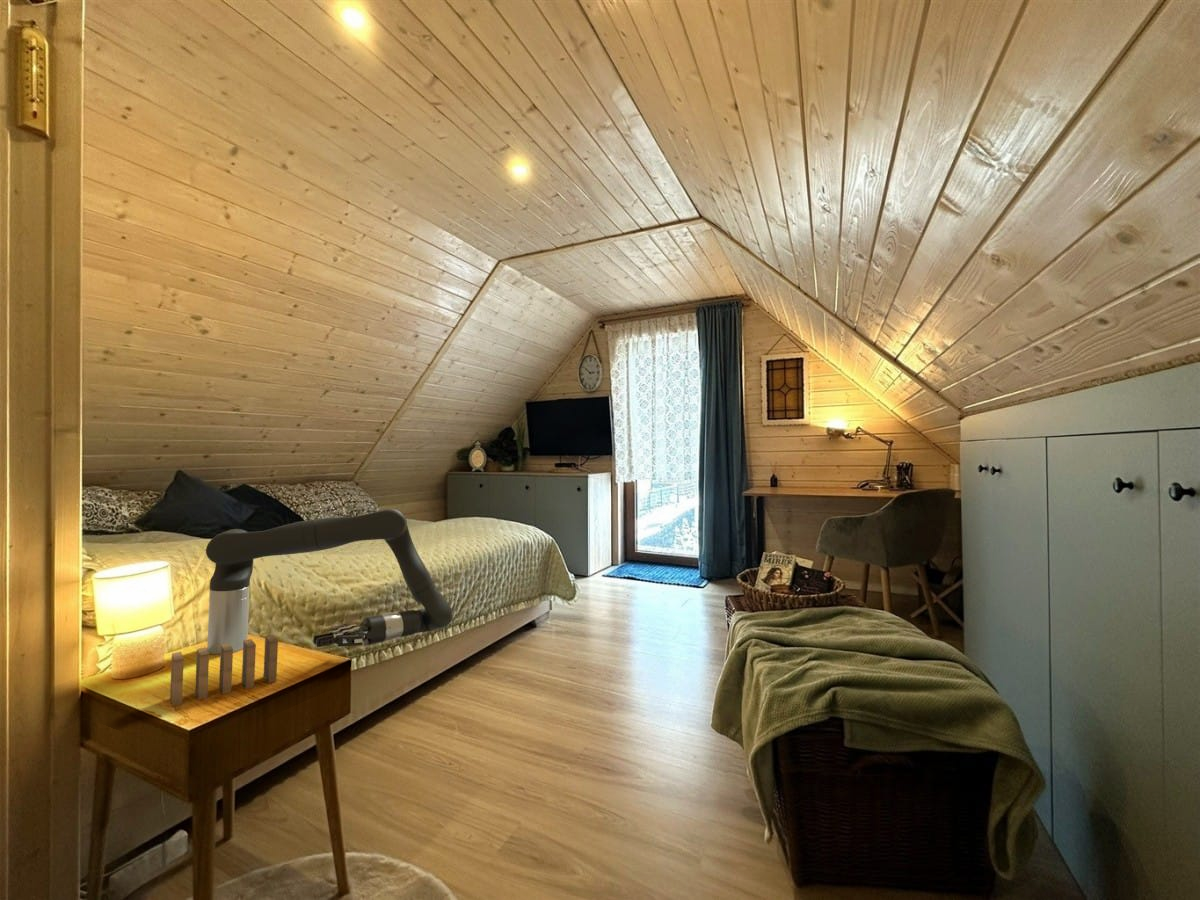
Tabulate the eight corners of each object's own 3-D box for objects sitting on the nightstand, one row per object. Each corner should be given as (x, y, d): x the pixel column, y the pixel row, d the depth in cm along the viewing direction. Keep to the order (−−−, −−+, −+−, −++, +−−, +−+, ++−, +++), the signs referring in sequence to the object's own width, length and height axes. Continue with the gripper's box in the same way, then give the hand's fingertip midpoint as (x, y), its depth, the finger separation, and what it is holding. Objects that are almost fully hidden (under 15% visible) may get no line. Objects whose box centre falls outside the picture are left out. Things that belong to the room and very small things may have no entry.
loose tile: (263, 676, 131) (265, 636, 131) (270, 675, 132) (272, 634, 132) (268, 683, 127) (270, 641, 127) (276, 681, 128) (278, 640, 128)
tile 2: (241, 681, 127) (243, 640, 128) (249, 680, 129) (251, 638, 129) (246, 688, 124) (247, 646, 124) (254, 686, 125) (255, 644, 125)
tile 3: (219, 687, 124) (220, 644, 125) (227, 685, 125) (229, 642, 126) (222, 694, 121) (224, 650, 121) (231, 692, 122) (233, 649, 122)
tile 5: (170, 698, 118) (171, 653, 118) (179, 696, 119) (180, 651, 119) (172, 706, 115) (174, 660, 115) (181, 704, 116) (183, 658, 116)
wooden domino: (195, 692, 121) (197, 648, 121) (203, 690, 122) (205, 647, 122) (198, 700, 118) (200, 655, 118) (207, 698, 119) (209, 653, 119)
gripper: (373, 609, 153) (307, 620, 141) (393, 620, 143) (324, 634, 131) (372, 634, 153) (306, 648, 141) (391, 648, 143) (322, 664, 131)
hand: (315, 641), depth 136 cm, fingers closed
